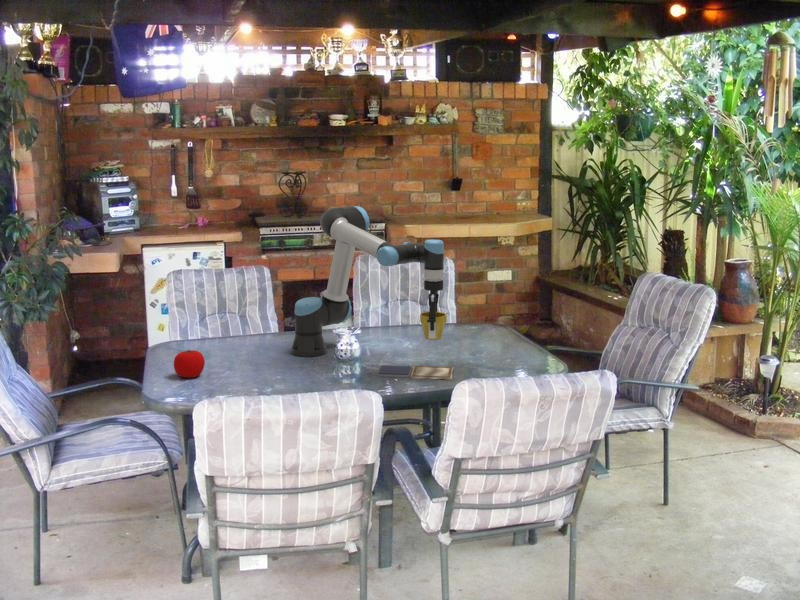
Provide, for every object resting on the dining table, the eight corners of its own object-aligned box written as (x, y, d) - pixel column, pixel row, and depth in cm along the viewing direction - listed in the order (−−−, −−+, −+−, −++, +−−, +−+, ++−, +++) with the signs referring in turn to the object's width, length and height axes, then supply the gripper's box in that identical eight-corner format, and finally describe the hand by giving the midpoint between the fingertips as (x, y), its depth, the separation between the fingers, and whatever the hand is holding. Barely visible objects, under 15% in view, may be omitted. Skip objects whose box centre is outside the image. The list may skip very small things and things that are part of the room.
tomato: (177, 381, 348) (176, 355, 346) (171, 374, 358) (170, 348, 356) (208, 378, 352) (207, 352, 350) (202, 370, 363) (201, 345, 361)
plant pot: (427, 342, 352) (428, 317, 350) (415, 336, 361) (415, 312, 359) (451, 339, 356) (451, 315, 355) (437, 334, 365) (438, 310, 364)
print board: (410, 378, 354) (410, 376, 354) (413, 367, 370) (413, 365, 370) (451, 380, 353) (451, 377, 353) (453, 369, 369) (453, 366, 368)
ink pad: (376, 376, 357) (376, 373, 357) (380, 367, 370) (380, 364, 370) (409, 377, 356) (409, 374, 356) (412, 368, 369) (412, 365, 368)
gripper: (441, 285, 343) (441, 342, 347) (444, 275, 365) (443, 329, 369) (422, 284, 343) (421, 341, 348) (426, 274, 366) (425, 328, 370)
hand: (432, 335), depth 358 cm, fingers closed on plant pot, 10 cm apart
